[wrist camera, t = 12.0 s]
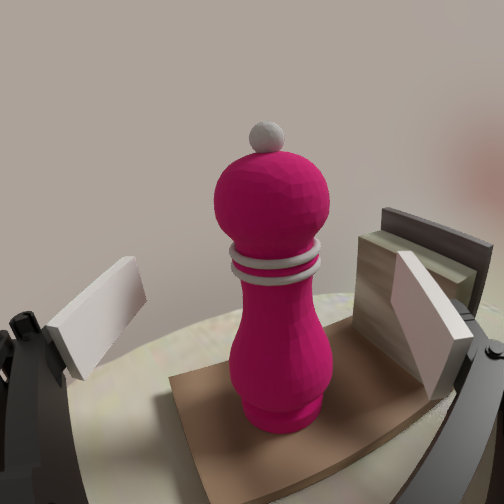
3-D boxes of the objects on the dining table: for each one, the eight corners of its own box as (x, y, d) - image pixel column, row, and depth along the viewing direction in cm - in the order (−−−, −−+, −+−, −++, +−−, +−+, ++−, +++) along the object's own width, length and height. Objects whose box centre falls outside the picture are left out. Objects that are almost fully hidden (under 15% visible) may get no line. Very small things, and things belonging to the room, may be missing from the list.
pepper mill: (340, 385, 23) (352, 120, 15) (305, 453, 17) (307, 113, 9) (264, 363, 26) (243, 126, 19) (219, 418, 21) (161, 133, 13)
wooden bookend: (374, 319, 34) (384, 204, 28) (460, 383, 21) (505, 247, 16) (173, 391, 26) (132, 256, 21) (219, 519, 14) (148, 402, 8)
